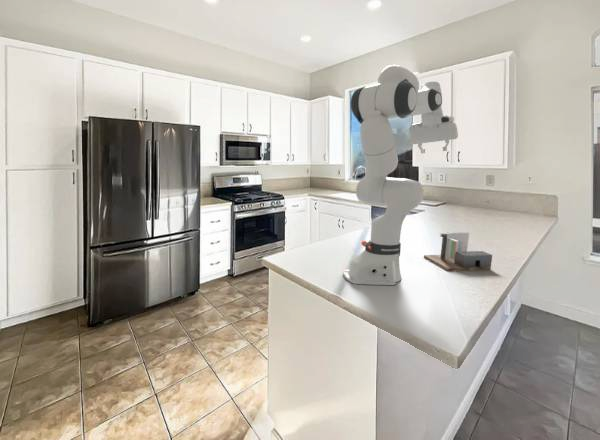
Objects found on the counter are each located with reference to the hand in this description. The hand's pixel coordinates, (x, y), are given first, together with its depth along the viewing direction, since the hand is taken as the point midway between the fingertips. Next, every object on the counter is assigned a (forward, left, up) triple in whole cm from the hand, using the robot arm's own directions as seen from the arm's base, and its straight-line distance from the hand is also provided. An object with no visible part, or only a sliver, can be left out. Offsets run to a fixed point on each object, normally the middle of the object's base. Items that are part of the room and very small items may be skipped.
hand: (433, 152), depth 146 cm
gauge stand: (+8, -12, -50) cm, 52 cm away
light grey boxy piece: (+10, -12, -48) cm, 50 cm away
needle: (+3, -10, -48) cm, 49 cm away
